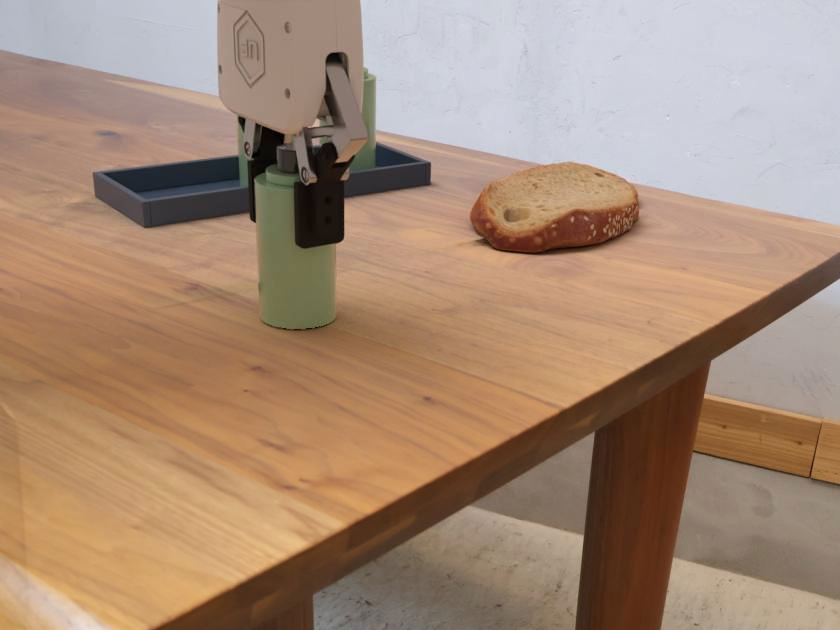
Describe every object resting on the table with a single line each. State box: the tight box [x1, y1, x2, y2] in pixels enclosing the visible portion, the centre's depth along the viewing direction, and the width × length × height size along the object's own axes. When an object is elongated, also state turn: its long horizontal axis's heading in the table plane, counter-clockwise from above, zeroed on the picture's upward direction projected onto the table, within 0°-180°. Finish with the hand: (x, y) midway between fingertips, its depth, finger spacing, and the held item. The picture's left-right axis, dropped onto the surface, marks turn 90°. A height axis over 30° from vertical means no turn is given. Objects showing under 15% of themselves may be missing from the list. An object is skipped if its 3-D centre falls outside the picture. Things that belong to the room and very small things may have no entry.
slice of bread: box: [469, 161, 640, 254], centre depth 97 cm, size 18×18×4 cm
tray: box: [92, 141, 432, 229], centre depth 99 cm, size 27×10×3 cm, turn 126°
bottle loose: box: [254, 143, 337, 330], centre depth 73 cm, size 5×5×11 cm
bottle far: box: [318, 67, 377, 172], centre depth 101 cm, size 5×5×11 cm
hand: (296, 229), depth 73 cm, fingers closed on bottle loose, 5 cm apart
